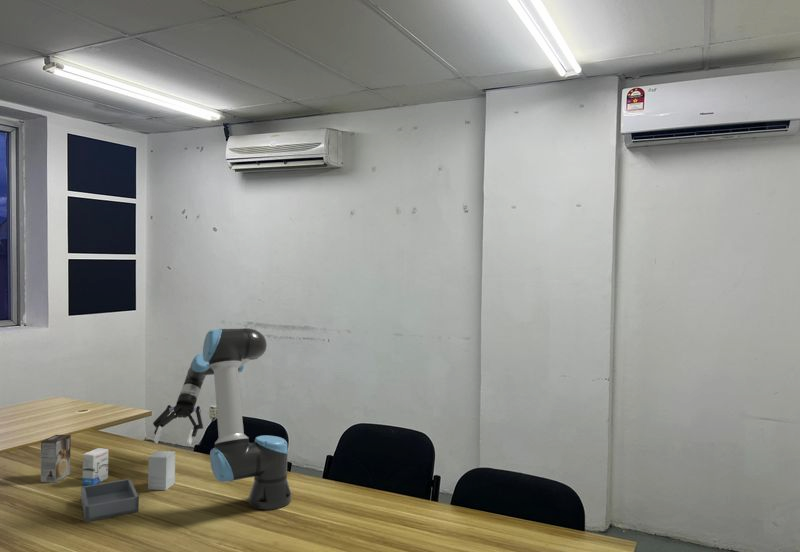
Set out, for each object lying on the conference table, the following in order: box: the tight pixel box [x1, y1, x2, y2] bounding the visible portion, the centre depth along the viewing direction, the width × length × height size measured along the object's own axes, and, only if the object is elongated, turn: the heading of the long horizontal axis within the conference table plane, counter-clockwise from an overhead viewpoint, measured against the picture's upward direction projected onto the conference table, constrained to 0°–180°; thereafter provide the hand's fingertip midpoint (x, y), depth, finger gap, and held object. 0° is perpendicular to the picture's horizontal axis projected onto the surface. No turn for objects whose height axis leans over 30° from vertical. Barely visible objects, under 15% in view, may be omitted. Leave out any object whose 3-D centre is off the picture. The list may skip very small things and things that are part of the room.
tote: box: [80, 478, 140, 523], centre depth 195 cm, size 20×16×5 cm
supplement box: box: [147, 450, 176, 491], centre depth 214 cm, size 7×7×13 cm
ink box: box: [82, 447, 109, 486], centre depth 217 cm, size 9×5×12 cm, turn 168°
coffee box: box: [40, 434, 72, 483], centre depth 219 cm, size 9×6×16 cm
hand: (171, 442), depth 223 cm, fingers open, 13 cm apart
